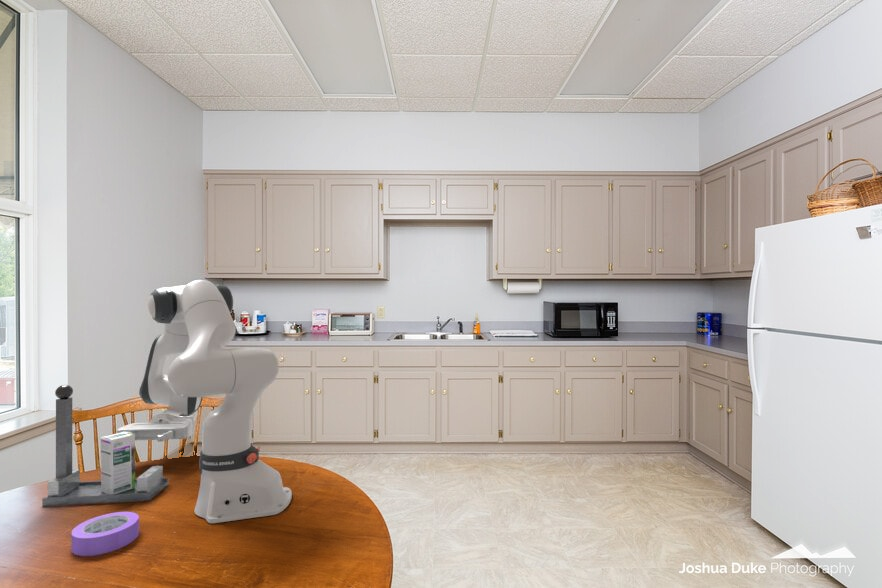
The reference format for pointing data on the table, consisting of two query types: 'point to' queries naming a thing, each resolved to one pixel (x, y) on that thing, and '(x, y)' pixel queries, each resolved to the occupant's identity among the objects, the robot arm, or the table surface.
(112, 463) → the syrup box
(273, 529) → the table surface
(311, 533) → the table surface
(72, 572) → the table surface
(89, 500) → the tray
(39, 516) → the table surface
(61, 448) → the ball-topped square post
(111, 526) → the masking tape
